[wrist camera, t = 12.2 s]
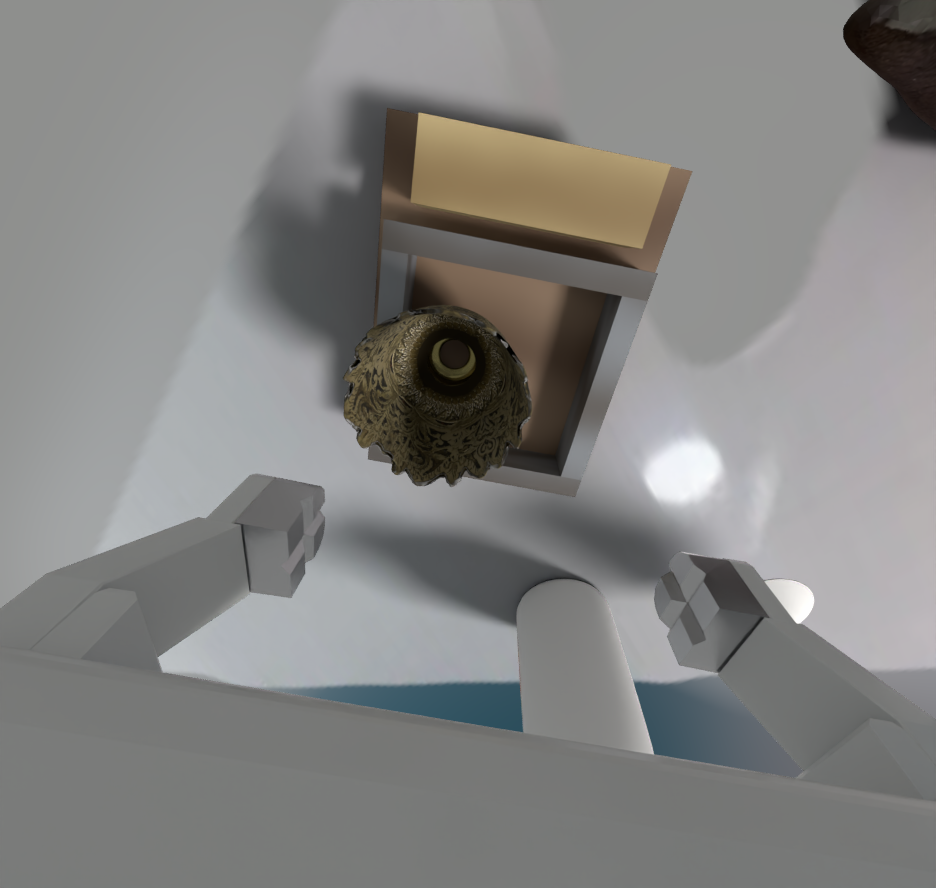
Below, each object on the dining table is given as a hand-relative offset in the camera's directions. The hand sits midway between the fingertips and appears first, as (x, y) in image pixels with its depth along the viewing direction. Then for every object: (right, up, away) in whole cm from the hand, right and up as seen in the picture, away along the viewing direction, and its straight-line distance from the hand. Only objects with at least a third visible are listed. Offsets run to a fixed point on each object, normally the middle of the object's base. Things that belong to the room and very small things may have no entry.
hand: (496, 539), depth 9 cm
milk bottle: (+7, -12, +25) cm, 28 cm away
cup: (-1, +7, +14) cm, 15 cm away
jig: (+1, +9, +14) cm, 17 cm away
